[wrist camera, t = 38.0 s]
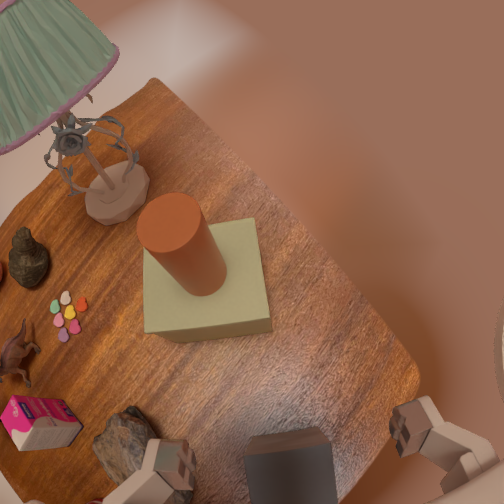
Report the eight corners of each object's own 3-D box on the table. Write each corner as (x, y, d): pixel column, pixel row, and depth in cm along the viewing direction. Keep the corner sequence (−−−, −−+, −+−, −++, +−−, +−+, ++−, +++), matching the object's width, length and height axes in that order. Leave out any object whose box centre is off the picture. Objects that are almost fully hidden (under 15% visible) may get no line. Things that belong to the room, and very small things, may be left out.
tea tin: (224, 247, 32) (199, 186, 22) (229, 292, 30) (202, 245, 20) (179, 255, 32) (138, 199, 22) (181, 299, 30) (134, 257, 20)
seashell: (44, 262, 37) (43, 213, 41) (-17, 271, 30) (-12, 221, 34) (54, 293, 45) (50, 249, 49) (2, 301, 38) (1, 256, 42)
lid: (147, 334, 30) (143, 333, 29) (146, 240, 34) (143, 236, 34) (270, 319, 29) (270, 317, 28) (254, 220, 34) (254, 216, 33)
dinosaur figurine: (26, 400, 33) (-12, 396, 25) (10, 381, 35) (-26, 374, 26) (49, 335, 38) (10, 322, 30) (31, 319, 40) (-5, 304, 31)
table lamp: (76, 269, 43) (-98, 107, 7) (70, 182, 52) (-31, 40, 16) (188, 214, 45) (73, -46, 9) (160, 135, 54) (89, -42, 18)
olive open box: (177, 343, 37) (153, 333, 29) (173, 263, 41) (152, 238, 34) (272, 331, 36) (270, 319, 29) (259, 249, 41) (254, 220, 34)
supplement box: (85, 425, 32) (33, 429, 21) (69, 446, 30) (19, 453, 20) (63, 397, 34) (11, 393, 23) (48, 419, 32) (-2, 419, 22)
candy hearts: (49, 304, 40) (48, 303, 40) (79, 281, 42) (78, 280, 41) (61, 345, 37) (60, 345, 37) (94, 322, 38) (93, 322, 38)
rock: (106, 397, 35) (97, 485, 27) (77, 391, 28) (68, 493, 20) (204, 420, 34) (194, 514, 26) (191, 421, 27) (180, 534, 19)
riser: (317, 426, 30) (330, 442, 21) (324, 479, 27) (338, 509, 18) (252, 435, 31) (242, 455, 22) (261, 489, 27) (254, 522, 18)
